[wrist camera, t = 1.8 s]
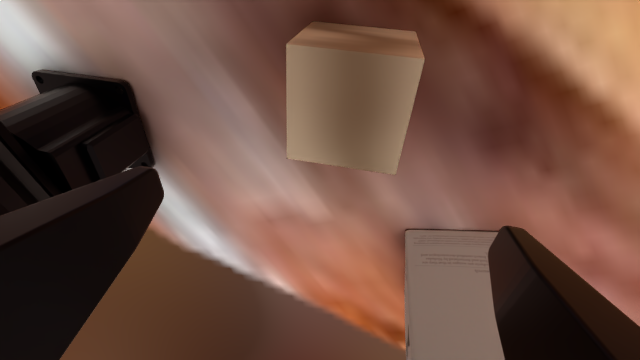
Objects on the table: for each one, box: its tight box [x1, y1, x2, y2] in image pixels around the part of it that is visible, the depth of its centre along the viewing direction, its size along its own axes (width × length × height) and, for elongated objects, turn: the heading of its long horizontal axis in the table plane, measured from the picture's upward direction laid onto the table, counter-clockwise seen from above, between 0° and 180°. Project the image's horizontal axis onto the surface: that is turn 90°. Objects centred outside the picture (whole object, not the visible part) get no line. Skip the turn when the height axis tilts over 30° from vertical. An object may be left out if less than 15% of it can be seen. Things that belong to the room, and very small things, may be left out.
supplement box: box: [404, 230, 505, 360], centre depth 18 cm, size 7×7×13 cm
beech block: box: [286, 21, 425, 175], centre depth 15 cm, size 5×5×5 cm
